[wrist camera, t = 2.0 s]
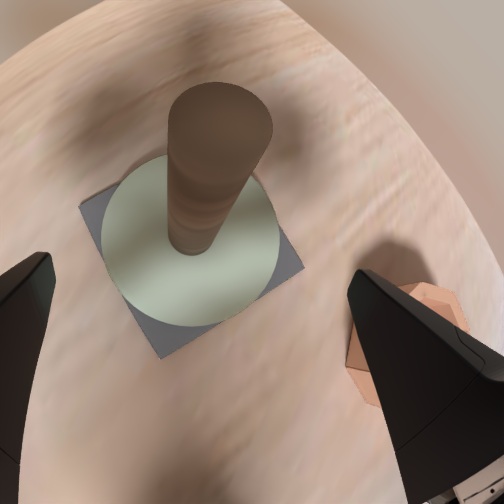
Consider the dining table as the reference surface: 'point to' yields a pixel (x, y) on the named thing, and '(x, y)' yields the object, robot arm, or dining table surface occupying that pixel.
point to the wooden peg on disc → (196, 213)
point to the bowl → (429, 296)
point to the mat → (169, 335)
